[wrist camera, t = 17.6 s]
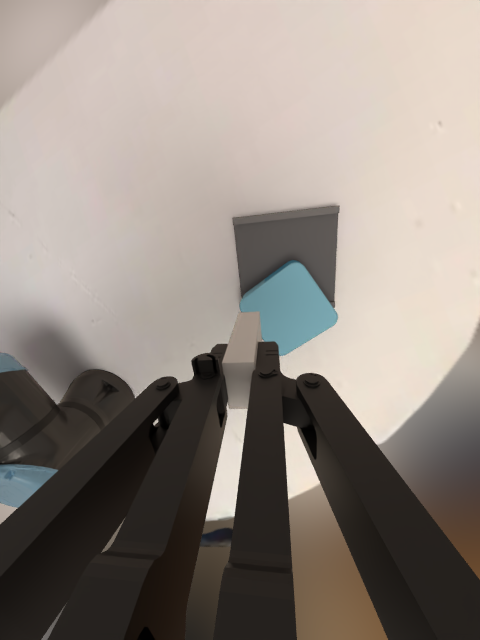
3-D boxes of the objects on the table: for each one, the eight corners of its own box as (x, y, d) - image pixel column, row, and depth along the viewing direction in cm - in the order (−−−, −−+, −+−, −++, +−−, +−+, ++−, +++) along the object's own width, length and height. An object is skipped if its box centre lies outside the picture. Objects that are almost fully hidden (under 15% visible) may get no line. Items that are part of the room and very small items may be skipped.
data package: (238, 298, 43) (277, 348, 45) (235, 304, 38) (278, 359, 40) (295, 255, 39) (335, 312, 41) (298, 257, 35) (342, 320, 37)
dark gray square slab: (243, 309, 45) (242, 313, 43) (234, 218, 39) (232, 218, 37) (332, 304, 43) (334, 307, 41) (336, 206, 37) (339, 205, 35)
